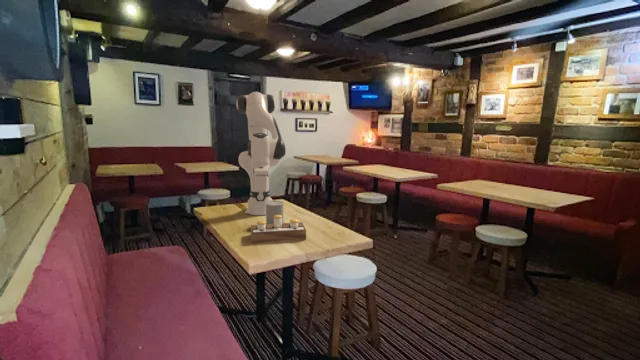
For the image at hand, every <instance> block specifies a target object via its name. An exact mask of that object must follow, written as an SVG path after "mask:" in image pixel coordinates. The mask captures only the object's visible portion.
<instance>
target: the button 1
mask: <svg viewBox="0 0 640 360" xmlns="http://www.w3.org/2000/svg"><path fill="white" fill-rule="evenodd" d="M256 225H257V230H260V229H266V220H258V221H257V222H256Z"/></svg>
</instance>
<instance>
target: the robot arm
mask: <svg viewBox="0 0 640 360" xmlns="http://www.w3.org/2000/svg"><path fill="white" fill-rule="evenodd" d="M276 105H277V103H276V99H275V97H274V95H272V94H268V93H267V94H262V93H261V92H259V91H253V92H251V93H249V94H247V95H246V94H245V95H244V94H242V95H239V96H238V97H237V100H236V109H237V111H238V112H239V114H243V115H246V118H247V128H248V130H247V131H248V140H249V142H248V143H247V150H245V151H242V152H240V153H239V155H238V159H237V160H238V161H237V162H238V163H239V164H238V165H239V166H240V167H241V168H242V169H244V170H245V171H246V173H247V174H248V177H249V179H250V191H249V195H250V196H249V199H247V208H246V210H244V214H249V215H251V216H266V203H267V202H270V201H273V199H272V197H271V190H270V179H269V177H268V175H269V173H271V168H272V167H276V166H277V165H278V164H279V163H280V160H281V159H282V158H284V157H285V156H286V151H287V149H286V144H285V142H284V140H283V137H282V135H281V132H280V129H279V126H278V122H277V121H276V119H275V117H274V116H273V115H272V113H273V112H274V111H275V109H276ZM268 131H269V133H270V135H271V138H272V139H270V137H269V135H268Z"/></svg>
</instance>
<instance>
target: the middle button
mask: <svg viewBox="0 0 640 360" xmlns="http://www.w3.org/2000/svg"><path fill="white" fill-rule="evenodd" d="M278 228H282V215H274V229H278Z"/></svg>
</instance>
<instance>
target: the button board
mask: <svg viewBox="0 0 640 360" xmlns="http://www.w3.org/2000/svg"><path fill="white" fill-rule="evenodd" d="M298 227H303V228H304V230H290V231H272V232H254V233H253V230H257V224H250V230H251V231H250V232H251V233H250V236H251V239H250V240H251V241H250V243H251V244H257V243H272V242H273V243H274V242H287V241H289V242H292V241H304V240H307V228H306V227H305V225H304V223H303V222H298ZM282 228H290V222H287V223H285V222H283V223H282ZM266 229H274V224H266Z"/></svg>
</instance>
